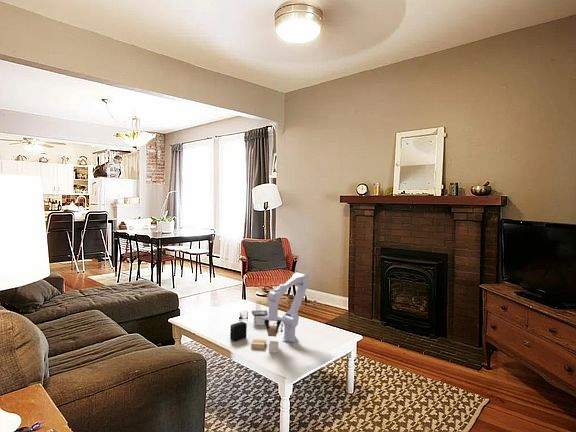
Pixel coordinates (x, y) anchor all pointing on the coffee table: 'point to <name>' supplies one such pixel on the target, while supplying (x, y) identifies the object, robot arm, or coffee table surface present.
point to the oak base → (258, 343)
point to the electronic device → (238, 331)
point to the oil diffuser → (259, 316)
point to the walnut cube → (272, 330)
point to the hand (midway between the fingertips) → (272, 332)
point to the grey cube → (273, 346)
